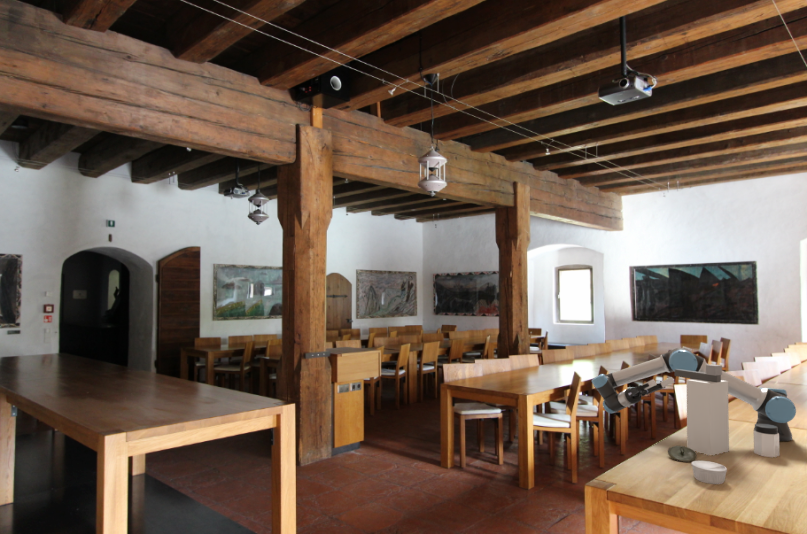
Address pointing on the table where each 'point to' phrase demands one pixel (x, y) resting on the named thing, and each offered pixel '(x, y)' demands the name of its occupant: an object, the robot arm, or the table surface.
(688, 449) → the lid
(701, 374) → the handle bar
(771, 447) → the jar
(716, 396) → the stand
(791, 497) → the table surface
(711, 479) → the ramekin
